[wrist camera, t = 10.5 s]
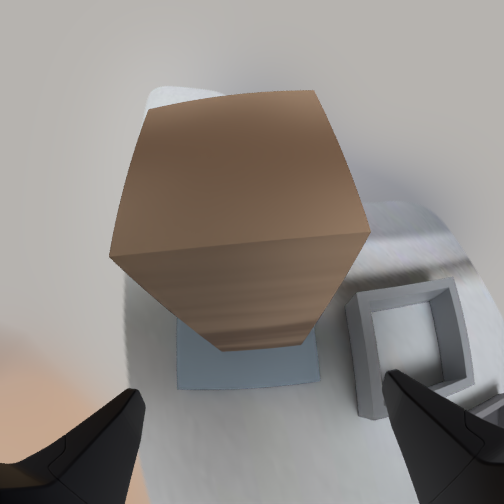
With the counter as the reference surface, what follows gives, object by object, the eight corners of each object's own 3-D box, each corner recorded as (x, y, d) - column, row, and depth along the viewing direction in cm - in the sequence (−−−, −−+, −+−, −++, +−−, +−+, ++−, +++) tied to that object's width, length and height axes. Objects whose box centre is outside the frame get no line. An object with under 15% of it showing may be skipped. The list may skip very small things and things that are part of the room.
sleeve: (451, 387, 15) (474, 384, 12) (358, 416, 15) (373, 420, 12) (434, 291, 18) (453, 276, 16) (344, 306, 19) (356, 292, 16)
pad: (317, 381, 16) (320, 381, 16) (182, 389, 17) (177, 389, 16) (300, 246, 21) (301, 239, 20) (183, 256, 21) (179, 250, 20)
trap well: (497, 462, 10) (510, 464, 8) (437, 497, 10) (449, 503, 9) (498, 394, 14) (513, 391, 12) (439, 423, 14) (453, 425, 12)
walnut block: (301, 344, 17) (371, 231, 5) (222, 351, 17) (108, 257, 5) (291, 272, 19) (314, 90, 7) (219, 279, 19) (148, 109, 7)
